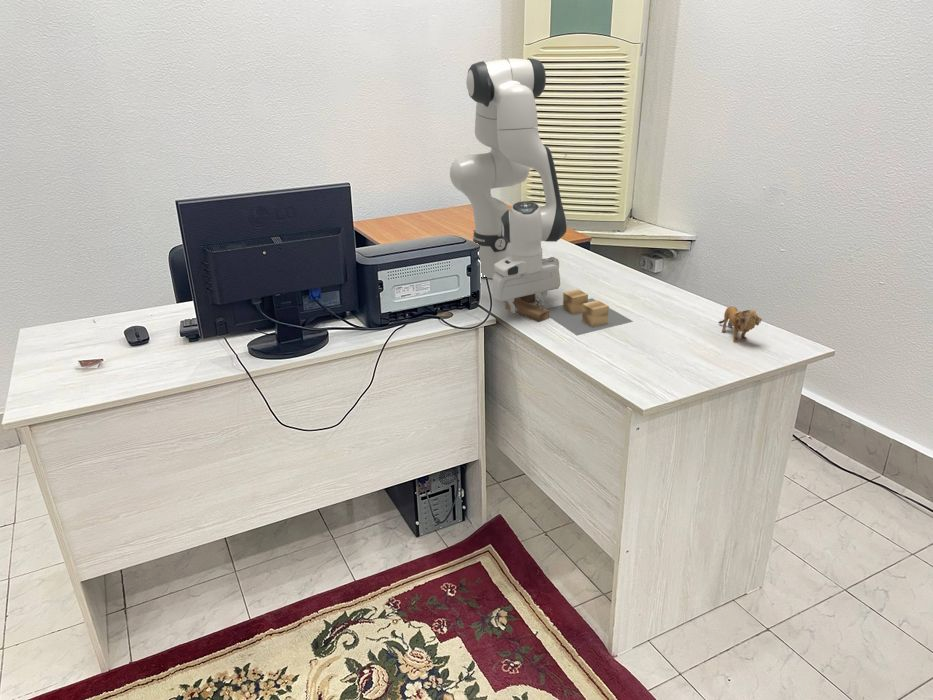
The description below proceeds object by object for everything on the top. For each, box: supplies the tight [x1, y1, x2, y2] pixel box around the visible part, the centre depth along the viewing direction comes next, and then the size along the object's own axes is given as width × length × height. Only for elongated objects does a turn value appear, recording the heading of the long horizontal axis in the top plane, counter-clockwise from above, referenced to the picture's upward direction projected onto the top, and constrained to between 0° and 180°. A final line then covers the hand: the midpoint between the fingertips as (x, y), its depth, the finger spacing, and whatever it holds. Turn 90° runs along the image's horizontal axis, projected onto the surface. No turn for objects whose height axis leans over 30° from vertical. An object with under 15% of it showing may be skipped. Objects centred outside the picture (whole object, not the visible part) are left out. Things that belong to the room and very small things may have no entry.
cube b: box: [582, 299, 610, 327], centre depth 185 cm, size 5×5×5 cm
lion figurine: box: [718, 305, 763, 343], centre depth 173 cm, size 15×5×9 cm, turn 14°
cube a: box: [562, 288, 589, 315], centre depth 193 cm, size 5×5×5 cm
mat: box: [545, 297, 634, 336], centre depth 190 cm, size 20×18×1 cm
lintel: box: [504, 298, 550, 323], centre depth 193 cm, size 4×14×3 cm, turn 38°
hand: (527, 308), depth 193 cm, fingers open, 7 cm apart
